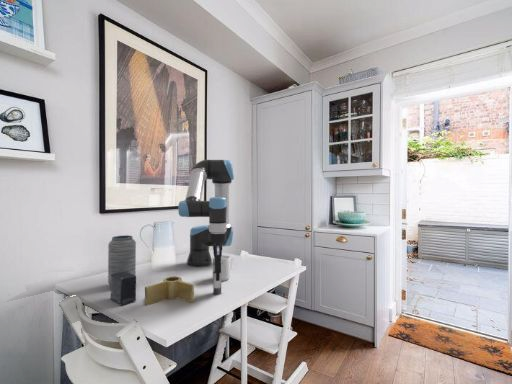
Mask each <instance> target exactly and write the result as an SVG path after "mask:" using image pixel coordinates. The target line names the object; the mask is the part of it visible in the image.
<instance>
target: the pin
mask: <svg viewBox="0 0 512 384" xmlns="http://www.w3.org/2000/svg"><path fill="white" fill-rule="evenodd" d="M221 265H222V260H221ZM213 272H215V260H214V261H213V260H212V279H213V281H212V285H213V286H212V288H213V289H212V292H213V293H212V294H213V295H221V294H222V287H221V288H214V273H213Z"/></svg>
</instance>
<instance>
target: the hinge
mask: <svg viewBox="0 0 512 384" xmlns="http://www.w3.org/2000/svg"><path fill="white" fill-rule="evenodd" d="M166 299H167V300H172V299H173V300H174V299H179V300H182V301H185V302H188V303H191V304H192V303H194V301H195V284H194V283H190V282H187V281H183V280H182V277H181V276H176V275H175V276H168V277H164V278H163V280H162V281H161V282H160V281H159V282H157V283H154V284H150V285H147V286H144V305H145V306H150V305H153V304H155V303H159V302H160V301H163V300H166Z"/></svg>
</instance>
